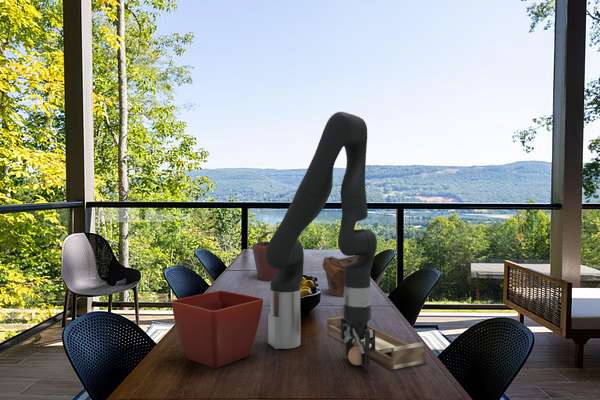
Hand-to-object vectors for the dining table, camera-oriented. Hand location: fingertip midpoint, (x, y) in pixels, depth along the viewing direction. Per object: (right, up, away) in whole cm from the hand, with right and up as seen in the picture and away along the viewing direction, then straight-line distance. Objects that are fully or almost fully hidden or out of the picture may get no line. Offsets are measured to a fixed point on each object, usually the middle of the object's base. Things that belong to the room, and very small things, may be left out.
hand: (357, 361), depth 132 cm
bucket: (-29, +2, +124) cm, 127 cm away
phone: (+5, 0, +57) cm, 57 cm away
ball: (0, +2, 0) cm, 2 cm away
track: (+6, -1, +15) cm, 16 cm away
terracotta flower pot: (+4, +1, +87) cm, 87 cm away
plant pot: (-39, -1, +6) cm, 40 cm away
